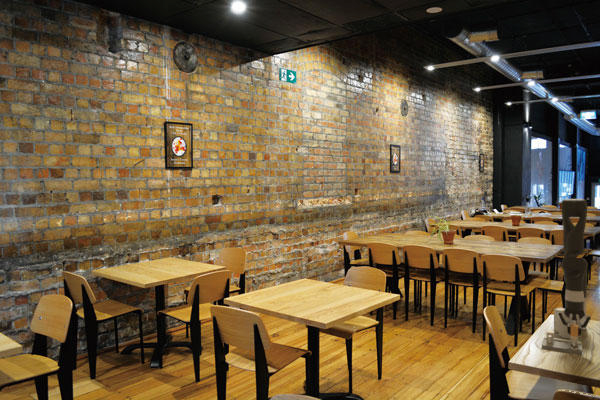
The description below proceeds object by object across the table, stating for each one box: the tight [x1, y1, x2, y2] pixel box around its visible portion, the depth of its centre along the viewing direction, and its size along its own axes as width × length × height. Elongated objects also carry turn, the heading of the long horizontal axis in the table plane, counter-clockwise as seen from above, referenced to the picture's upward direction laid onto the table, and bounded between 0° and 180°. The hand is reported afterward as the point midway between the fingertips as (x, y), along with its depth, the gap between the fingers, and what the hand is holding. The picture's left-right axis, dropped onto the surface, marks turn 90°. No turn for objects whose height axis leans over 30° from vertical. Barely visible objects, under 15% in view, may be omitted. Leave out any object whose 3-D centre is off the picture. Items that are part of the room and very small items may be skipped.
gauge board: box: [541, 329, 583, 356], centre depth 213 cm, size 16×12×6 cm
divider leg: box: [570, 324, 579, 348], centre depth 210 cm, size 3×8×9 cm, turn 147°
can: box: [558, 314, 576, 340], centre depth 227 cm, size 8×8×12 cm
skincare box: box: [553, 307, 565, 333], centre depth 236 cm, size 6×4×12 cm
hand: (574, 334), depth 212 cm, fingers closed on divider leg, 3 cm apart
